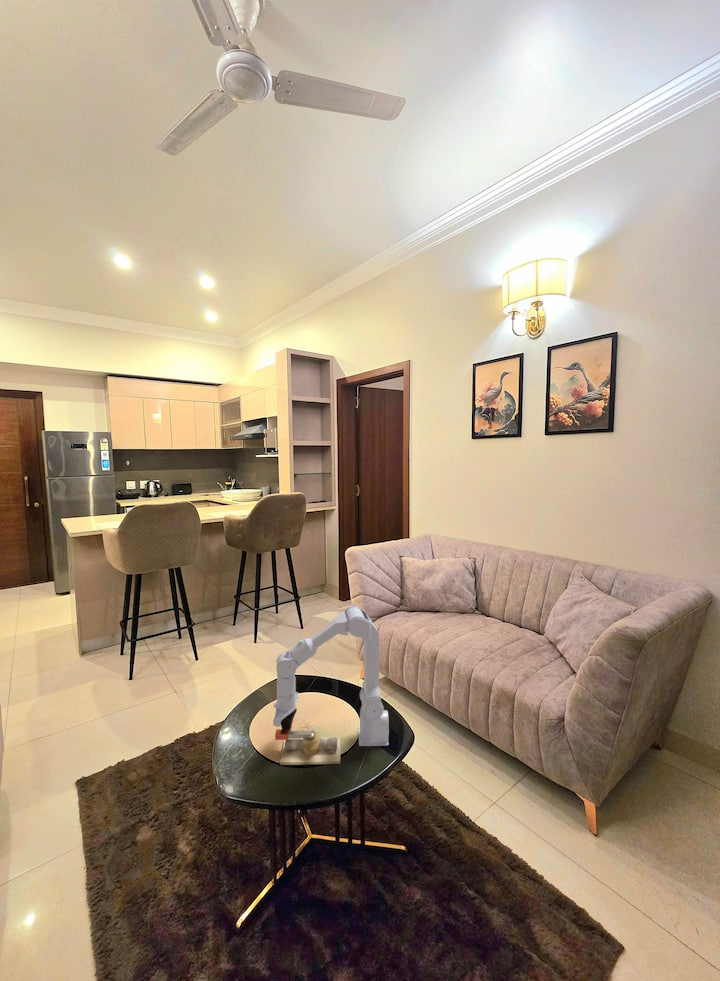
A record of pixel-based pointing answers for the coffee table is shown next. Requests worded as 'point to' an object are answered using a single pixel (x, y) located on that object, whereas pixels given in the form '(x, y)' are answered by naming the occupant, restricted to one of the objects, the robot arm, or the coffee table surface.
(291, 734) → the valve lever
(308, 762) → the valve fixture
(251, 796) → the coffee table surface
